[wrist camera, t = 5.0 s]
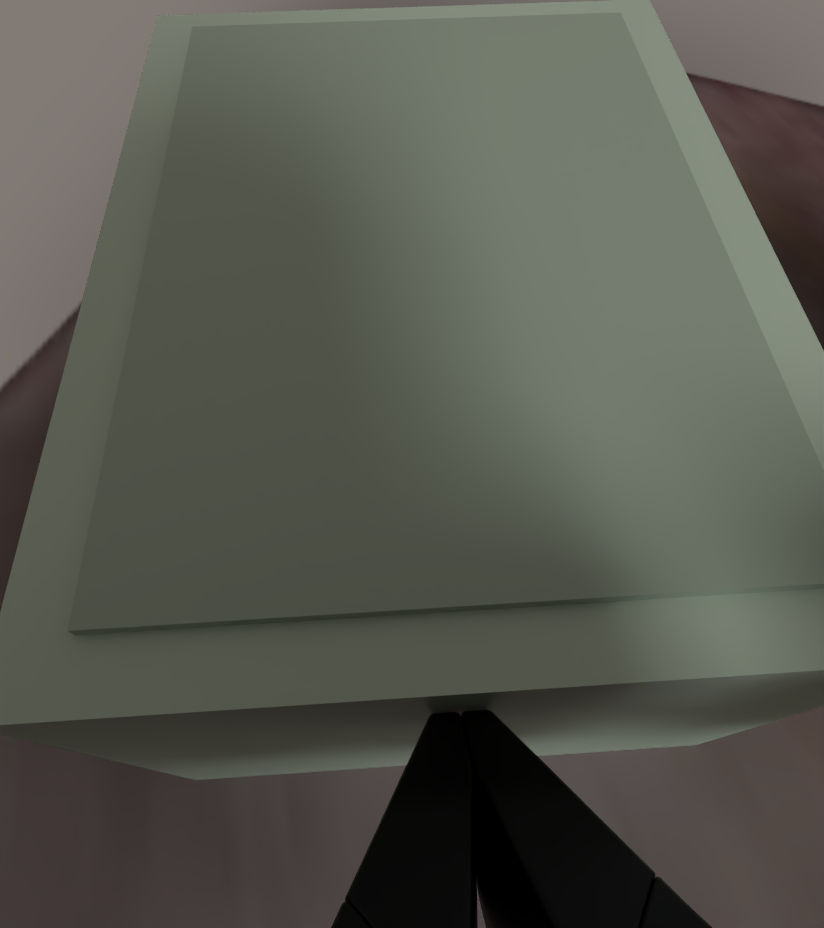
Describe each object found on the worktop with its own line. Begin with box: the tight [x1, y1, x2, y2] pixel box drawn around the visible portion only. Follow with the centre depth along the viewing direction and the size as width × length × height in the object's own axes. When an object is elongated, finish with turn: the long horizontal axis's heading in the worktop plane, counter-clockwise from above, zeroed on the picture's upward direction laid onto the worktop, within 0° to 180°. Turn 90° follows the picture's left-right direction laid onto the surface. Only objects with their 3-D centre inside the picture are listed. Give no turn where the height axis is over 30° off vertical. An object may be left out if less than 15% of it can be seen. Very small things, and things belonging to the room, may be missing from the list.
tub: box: [0, 0, 824, 780], centre depth 15 cm, size 16×12×9 cm
